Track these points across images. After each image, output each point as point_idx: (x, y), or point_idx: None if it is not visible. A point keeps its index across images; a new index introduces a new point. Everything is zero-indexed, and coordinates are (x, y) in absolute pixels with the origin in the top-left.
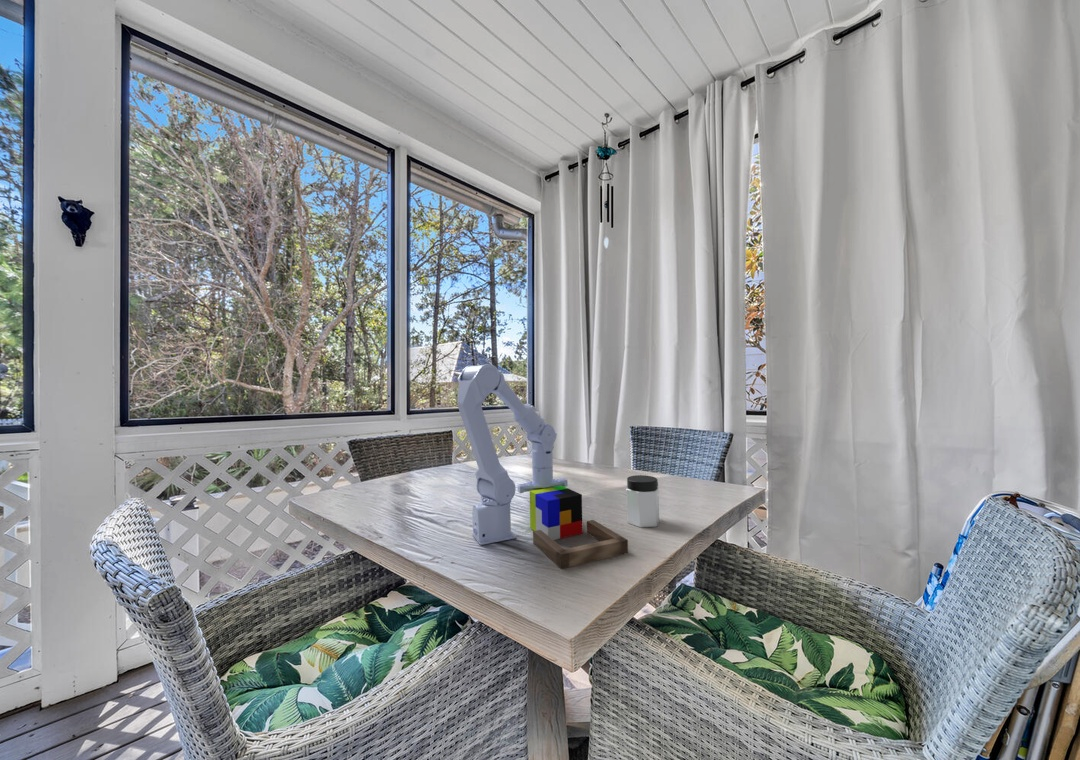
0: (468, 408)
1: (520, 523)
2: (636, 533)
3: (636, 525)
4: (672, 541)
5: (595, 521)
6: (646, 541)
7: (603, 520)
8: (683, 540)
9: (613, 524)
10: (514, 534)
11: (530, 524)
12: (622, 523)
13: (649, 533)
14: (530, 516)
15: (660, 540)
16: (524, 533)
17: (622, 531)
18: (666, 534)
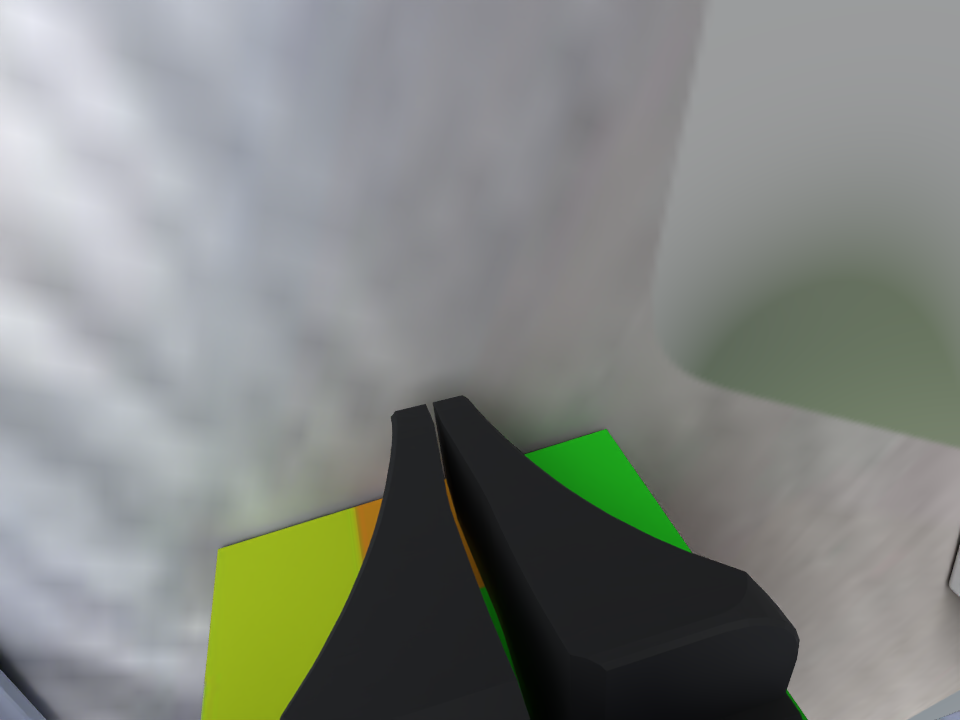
0: None
1: (87, 375)
2: (864, 643)
3: (955, 574)
4: (897, 708)
5: None
6: (819, 712)
7: (899, 449)
8: (937, 699)
9: (885, 526)
10: (18, 717)
11: (215, 587)
12: (939, 517)
13: (909, 644)
14: (209, 679)
15: (872, 702)
16: (141, 629)
17: (832, 620)
18: (951, 653)
